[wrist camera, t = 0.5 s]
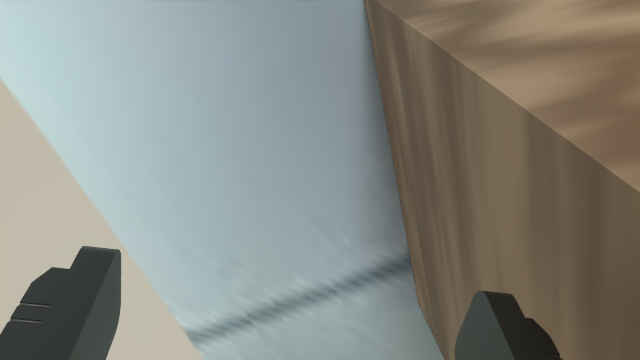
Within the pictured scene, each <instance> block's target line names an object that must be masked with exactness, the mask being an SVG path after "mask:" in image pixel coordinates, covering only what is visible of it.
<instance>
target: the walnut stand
mask: <svg viewBox="0 0 640 360" xmlns="http://www.w3.org/2000/svg"><path fill="white" fill-rule="evenodd" d="M365 5H366V11H367V17H368V22H369V28H370V34H371V39H372V45H373V50H374V56H375V62H376V67H377V73H378V79H379V84H380V90H381V95H382V101H383V107H384V112H385V118H386V124H387V129H388V135H389V140H390V146H391V152H392V157H393V163H394V169H395V174H396V180H397V185H398V191H399V197H400V202H401V208H402V214H403V219H404V225H405V230H406V236H407V242H408V247H409V253H410V259H411V264H412V270H413V275H414V281H415V287H416V292H417V298H418V303H419V306H420V308H421V310H422V312H423V314H424V316H425V318H426V321H427V323H428V325H429V327H430V329H431V331H432V333H433V335H434V338H435V340H436V342H437V344H438V346H439V348H440V350H441V353H442V355H443V357H444V359H445V360H455V343H456V339H457V336H458V333H459V331H460V328H461V326H462V323H463V321H464V318H465V316H466V313H467V311H468V309H469V306H470V304H471V301H472V299H473V296H474V295H475V293H476V292H477V291H479V290H482V291H491V292H500V293H509V294H512V295H513V296H514V297H515V299H516V301H517V303H518V305H519V306H520V308H521V310H522V312H523V314H524V316H525V318H533V319H534V320H535V321H536V322H537V323H538V324H539V325H540V326H541V327H542V328H543V329H544V330H545V331H546V332H547V333H548V334H549V335H550V337H551V339H552V341H553V342H554V344H555V346H556V348H557V350H558V352H559V353H560V358H562V359H563V360H640V0H365Z"/></svg>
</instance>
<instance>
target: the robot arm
mask: <svg viewBox="0 0 640 360" xmlns="http://www.w3.org/2000/svg"><path fill="white" fill-rule="evenodd" d="M120 307H121V253H120V250H117V249H107V248H98V247H89V246H83V247H82V248H81V249H80V251H79V253H78V254H77V256H76V258H75V260H74V262H73V264H72V266H71V268H70V269H64V268H55V267H52V268H50V269H49V270H48V271H46V272H45V273H44V274H43V275H41V276H40V277H39V278H37V279H36V280H35V281H33V282H32V283H31V285H30V286H29V288H28V290H27V291H26V293H25V294H24V296H23V298H22V299H21V301H20V305H19V306H17V308H16V309H15V311H14V313H13V314H12V316H11V319H10V322H8V323H7V324H6V326H5V328H4V329H3V331H2V333H1V334H0V360H106V357H107V355H108V352H109V349H110V347H111V344H112V341H113V338H114V335H115V333H116V329H117V325H118V320H119V315H120ZM455 360H563V359H562V358H560V353H559V352H558V350H557V348H556V346H555V344H554V342H553V341H552V339H551V337H550V335H549V334H548V333H547V332H546V331H545V330H544V329H543V328H542V327H541V326H540V325H539V324H538V323H537V322H536V321H535V320H534V319H533V318H525V316H524V314H523V312H522V310H521V308H520V306H519V305H518V303H517V301H516V299H515V297H514V296H513V295H512V294H509V293H500V292H491V291H482V290H479V291H477V292H476V293H475V295H474V296H473V299H472V301H471V304H470V306H469V309H468V311H467V313H466V316H465V318H464V321H463V323H462V326H461V328H460V331H459V333H458V336H457V339H456V343H455Z"/></svg>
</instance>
